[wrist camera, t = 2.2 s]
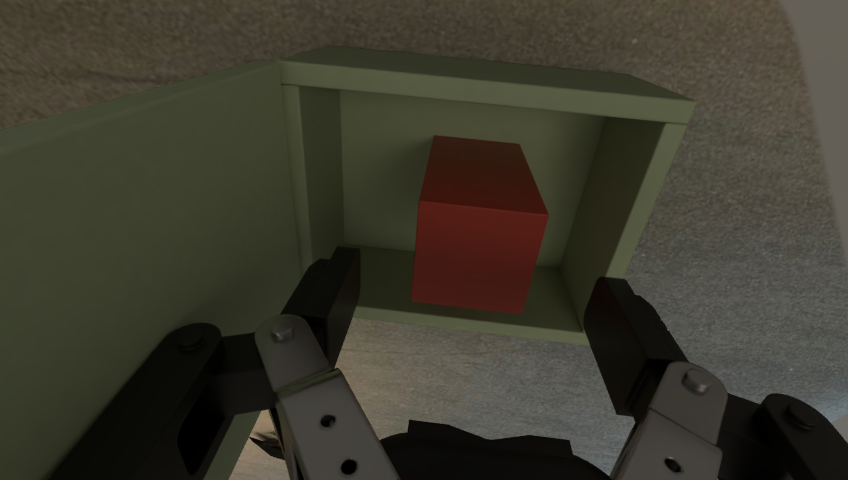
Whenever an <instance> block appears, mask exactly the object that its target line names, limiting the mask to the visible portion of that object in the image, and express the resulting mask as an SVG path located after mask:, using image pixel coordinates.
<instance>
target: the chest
mask: <svg viewBox="0 0 848 480" xmlns="http://www.w3.org/2000/svg"><path fill="white" fill-rule="evenodd" d="M275 62H276V63H278V64H279V70H280V80H281V89H282V99H283V109H284V118H285V128H286V138H287V147H288V157H289V167H290V176H291V186H292V196H293V205H294V215H295V225H296V234H297V244H298V254H299V263H300V273H301V279H302V278H303V275H304V274H305V272H306V270H307V269H308V267H309V266H310V265H311V264H313V263H314V262H316V261H317V260H319V259H320V258H322V259H330V258H331V256H332V254H333V253H334V251H335V249H336V247H337V246H345V247H354V248H359V249H360V254H361V287H360V295H359V300H358V303H357V306H356V309H355V312H354V315H353V318H362V319H370V320H378V321H387V322H395V323H403V324H412V325H420V326H428V327H437V328H445V329H453V330H462V331H470V332H479V333H487V334H495V335H504V336H512V337H520V338H529V339H537V340H545V341H554V342H562V343H570V344H579V345H587V346H590V344H589V341H588V338H587V336H586V333H585V331H584V326H583V317H584V312H585V309H586V307H587V304H588V301H589V299H590V296H591V293H592V291H593V288H594V285H595V283H596V280H597V279H598V278H599V277H600V276H604V277H613V278H621V279H623V277H624V275H625V273H626V270H627V268H628V266H629V263H630V261H631V258H632V256H633V254H634V251H635V249H636V247H637V244H638V242H639V240H640V237H641V235H642V233H643V230H644V228H645V225H646V223H647V221H648V218H649V216H650V214H651V211H652V209H653V207H654V204H655V202H656V200H657V197H658V195H659V192H660V190H661V188H662V185H663V183H664V181H665V178H666V176H667V174H668V171H669V169H670V166H671V164H672V162H673V159H674V157H675V155H676V152H677V150H678V148H679V145H680V143H681V141H682V138H683V136H684V133H685V131H686V129H687V125H686V124H688V123H689V121H690V119H691V117H692V114H693V112H694V110H695V107H696V105H697V101H695V100H693V99H690V98H687V97H685V96H682V95H680V94H677V93H675V92H672V91H670V90H667V89H665V88H662V87H660V86H657V85H655V84H652V83H650V82H647V81H645V80H642V79H640V78H637V77H634V76H632V75H630V74H620V73H610V72H599V71H589V70H579V69H568V68H558V67H548V66H537V65H527V64H516V63H506V62H496V61H485V60H475V59H465V58H454V57H444V56H434V55H423V54H413V53H402V52H392V51H382V50H371V49H361V48H351V47H340V46H330V45H328V46H325V47H321V48H317V49H314V50H310V51H307V52H303V53H299V54H296V55H292V56H288V57H285V58H281V59H277V60H275ZM434 135H438V136H448V137H457V138H467V139H477V140H486V141H496V142H506V143H515V144H520V146H521V149H522V151H523V153H524V156H525V158H526V161H527V163H528V165H529V168H530V170H531V173H532V175H533V177H534V180H535V182H536V185H537V187H538V189H539V192H540V194H541V197H542V199H543V201H544V204H545V206H546V209H547V211H548V213H549V218H548V222H547V225H546V229H545V233H544V236H543V240H542V244H541V247H540V251H539V255H538V258H537V262H536V266H535V269H534V273H533V276H532V280H531V284H530V287H529V291H528V295H527V298H526V302H525V306H524V309H523V313H522V314H515V313H507V312H498V311H490V310H481V309H473V308H464V307H456V306H448V305H439V304H431V303H422V302H414V301H411V292H412V279H413V267H414V254H415V241H416V229H417V216H418V204H419V198H420V194H421V189H422V185H423V181H424V176H425V172H426V168H427V163H428V159H429V155H430V150H431V146H432V142H433V137H434Z"/></svg>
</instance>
